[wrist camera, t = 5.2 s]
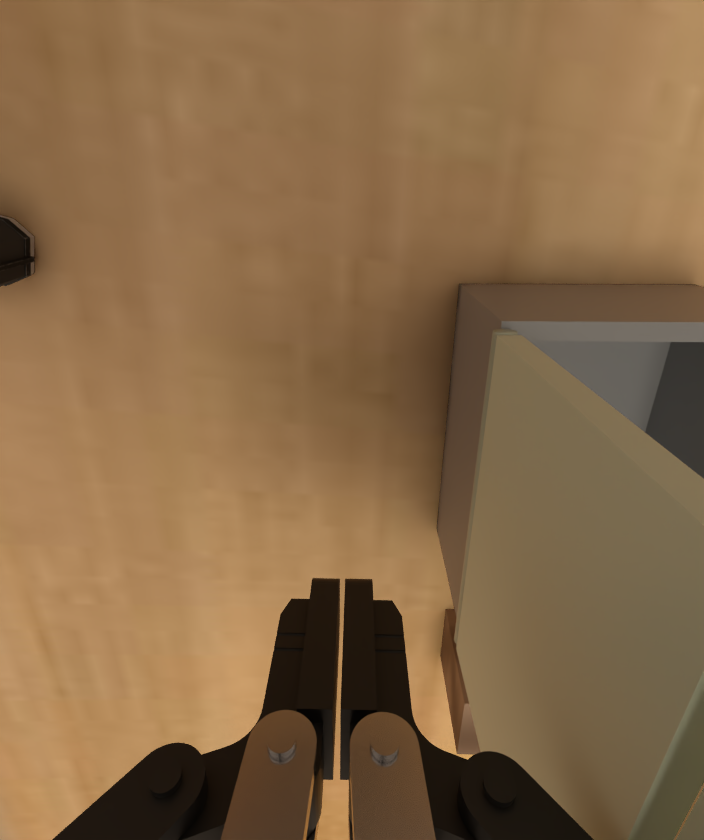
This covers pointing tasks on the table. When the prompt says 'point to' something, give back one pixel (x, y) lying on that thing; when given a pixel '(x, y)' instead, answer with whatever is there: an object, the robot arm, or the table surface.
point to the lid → (584, 602)
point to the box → (576, 372)
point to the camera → (15, 251)
